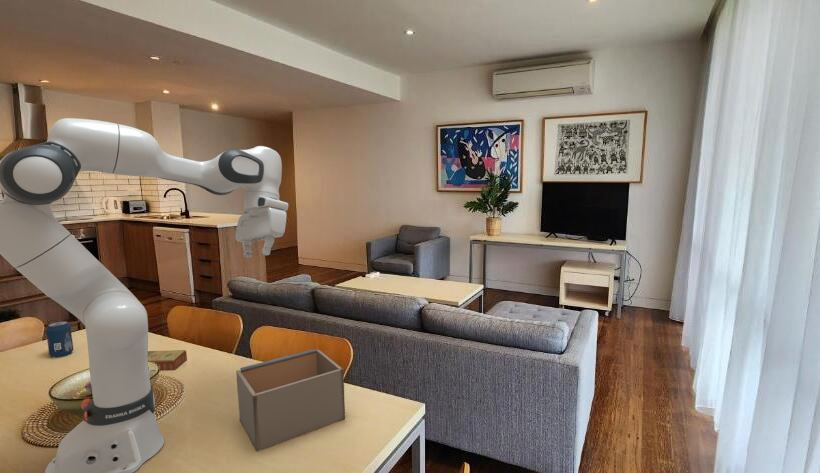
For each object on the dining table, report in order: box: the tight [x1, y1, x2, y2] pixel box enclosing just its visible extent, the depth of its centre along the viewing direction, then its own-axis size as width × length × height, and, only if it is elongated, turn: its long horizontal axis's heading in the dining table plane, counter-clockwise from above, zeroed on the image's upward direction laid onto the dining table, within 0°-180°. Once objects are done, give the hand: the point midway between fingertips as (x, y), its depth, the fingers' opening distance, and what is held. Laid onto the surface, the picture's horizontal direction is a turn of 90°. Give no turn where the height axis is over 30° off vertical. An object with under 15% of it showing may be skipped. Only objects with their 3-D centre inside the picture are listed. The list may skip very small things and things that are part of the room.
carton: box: [148, 349, 188, 372], centre depth 146 cm, size 8×16×4 cm, turn 92°
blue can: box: [45, 320, 74, 359], centre depth 155 cm, size 7×7×12 cm
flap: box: [239, 348, 317, 393], centre depth 118 cm, size 21×1×14 cm, turn 125°
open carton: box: [235, 349, 346, 452], centre depth 112 cm, size 23×16×14 cm
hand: (256, 256), depth 113 cm, fingers open, 8 cm apart
